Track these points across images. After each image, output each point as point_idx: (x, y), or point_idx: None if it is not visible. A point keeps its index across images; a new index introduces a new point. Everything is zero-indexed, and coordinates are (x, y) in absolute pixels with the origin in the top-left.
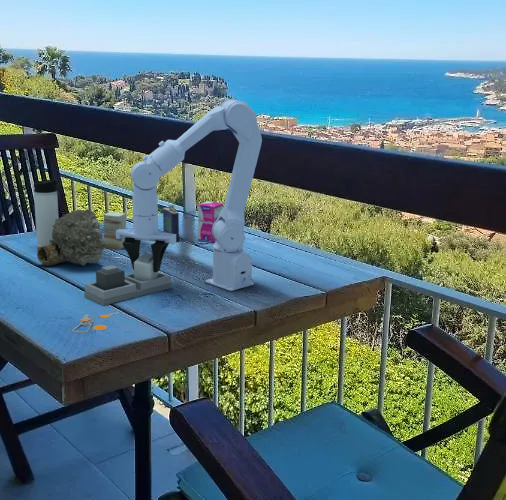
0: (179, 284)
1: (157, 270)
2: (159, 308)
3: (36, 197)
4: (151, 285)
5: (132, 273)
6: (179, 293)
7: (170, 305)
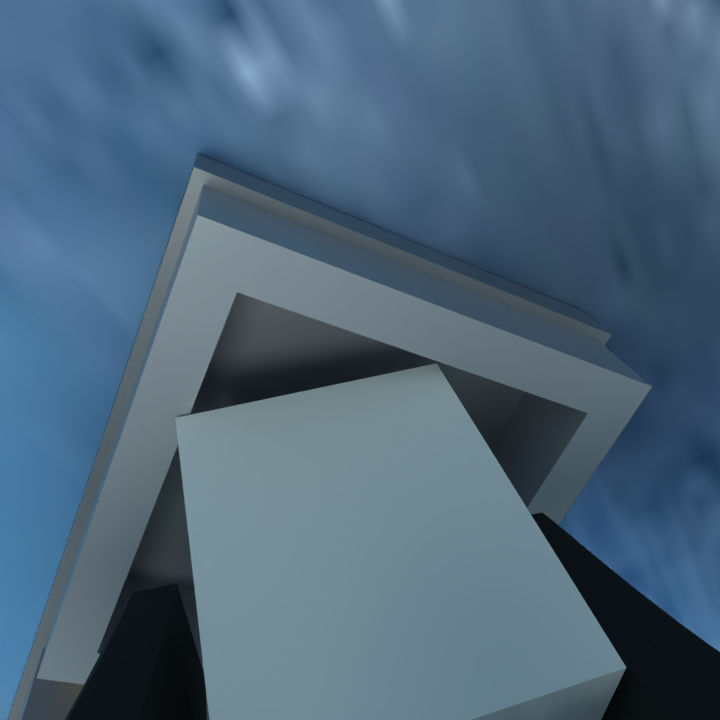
0: (624, 147)
1: None
2: None
3: None
4: None
5: (88, 558)
6: (699, 413)
7: None
